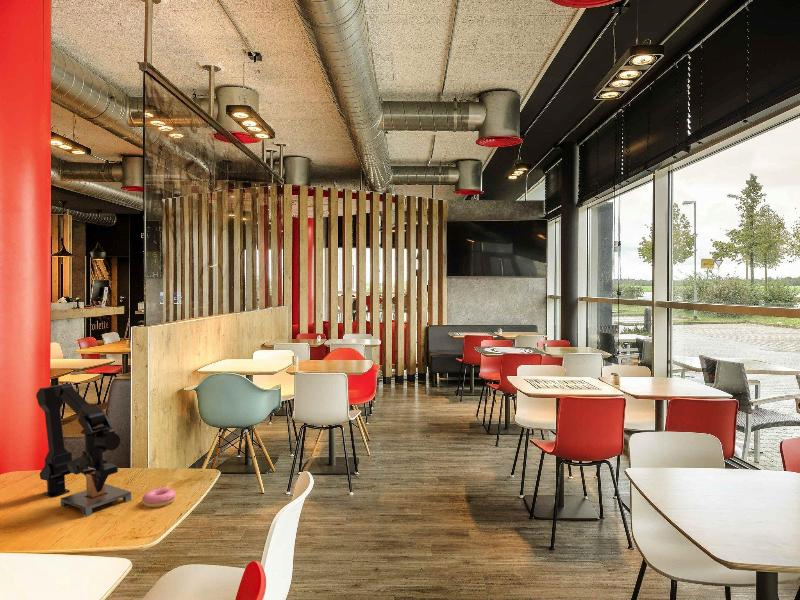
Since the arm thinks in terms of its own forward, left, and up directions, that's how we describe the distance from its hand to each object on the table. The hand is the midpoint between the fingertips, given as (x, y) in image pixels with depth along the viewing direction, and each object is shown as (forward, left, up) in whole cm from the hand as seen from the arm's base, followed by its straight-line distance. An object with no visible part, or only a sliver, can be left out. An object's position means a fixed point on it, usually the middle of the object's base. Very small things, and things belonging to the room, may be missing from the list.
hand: (95, 490), depth 198 cm
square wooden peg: (0, 0, -3) cm, 3 cm away
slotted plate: (0, 0, -4) cm, 5 cm away
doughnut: (+19, +12, -5) cm, 23 cm away
